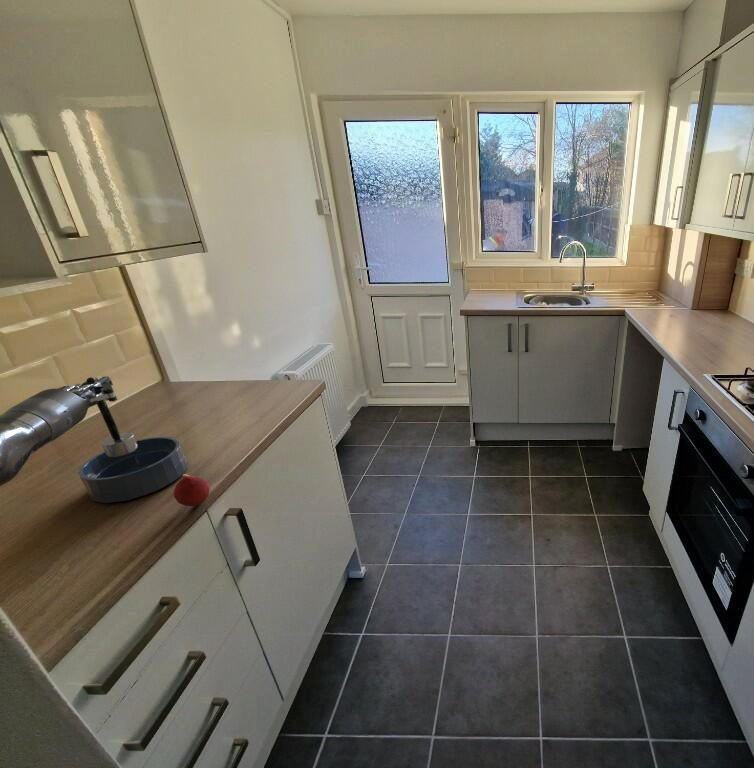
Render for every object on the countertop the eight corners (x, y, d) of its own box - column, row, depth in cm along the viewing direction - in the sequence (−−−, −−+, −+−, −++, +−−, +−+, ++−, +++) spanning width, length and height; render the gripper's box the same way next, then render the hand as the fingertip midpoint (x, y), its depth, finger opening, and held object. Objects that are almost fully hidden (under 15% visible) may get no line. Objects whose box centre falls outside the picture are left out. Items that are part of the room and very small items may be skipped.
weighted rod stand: (105, 459, 87) (69, 384, 80) (108, 449, 91) (74, 376, 84) (137, 451, 90) (105, 378, 83) (139, 441, 93) (108, 371, 87)
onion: (215, 493, 91) (204, 463, 88) (212, 508, 86) (200, 477, 83) (182, 502, 88) (170, 471, 85) (178, 518, 84) (164, 486, 81)
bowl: (85, 516, 85) (71, 490, 82) (97, 476, 98) (85, 452, 95) (189, 484, 94) (179, 460, 92) (187, 451, 107) (179, 429, 105)
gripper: (82, 393, 72) (134, 360, 87) (-19, 403, 68) (54, 368, 84) (100, 430, 75) (147, 393, 90) (4, 443, 71) (70, 401, 87)
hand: (102, 381), depth 87 cm, fingers closed on weighted rod stand, 1 cm apart
